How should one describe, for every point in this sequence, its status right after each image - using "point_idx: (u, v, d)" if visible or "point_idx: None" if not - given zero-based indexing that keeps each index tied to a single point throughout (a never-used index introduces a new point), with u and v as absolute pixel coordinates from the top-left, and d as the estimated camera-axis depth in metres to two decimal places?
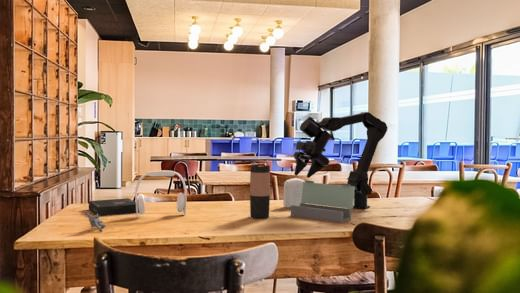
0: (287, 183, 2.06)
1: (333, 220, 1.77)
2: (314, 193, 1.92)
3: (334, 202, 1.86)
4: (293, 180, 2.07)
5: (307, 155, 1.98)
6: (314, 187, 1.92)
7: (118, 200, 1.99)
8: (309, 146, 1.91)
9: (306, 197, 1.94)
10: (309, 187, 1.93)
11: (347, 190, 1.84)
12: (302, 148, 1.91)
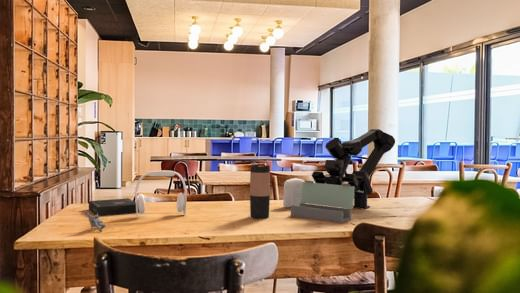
0: (287, 183, 2.06)
1: (333, 220, 1.77)
2: (314, 193, 1.92)
3: (334, 202, 1.86)
4: (293, 180, 2.07)
5: None
6: (314, 187, 1.92)
7: (118, 200, 1.99)
8: (341, 165, 1.89)
9: (306, 197, 1.93)
10: (309, 187, 1.93)
11: (347, 190, 1.84)
12: (334, 166, 1.89)
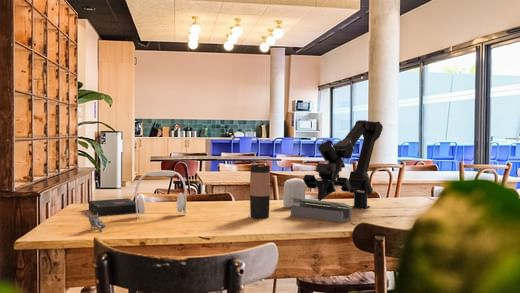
0: (287, 183, 2.06)
1: (333, 220, 1.77)
2: (308, 202, 1.88)
3: None
4: (293, 180, 2.07)
5: None
6: (304, 201, 1.86)
7: (118, 200, 1.99)
8: (333, 169, 1.83)
9: (303, 202, 1.91)
10: None
11: (338, 205, 1.78)
12: (326, 170, 1.83)
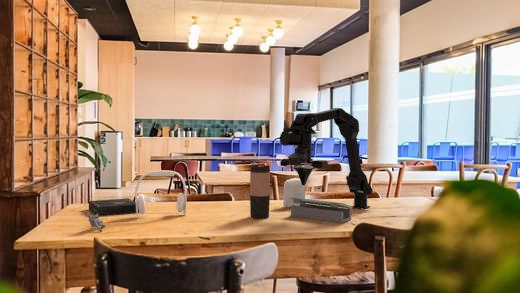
0: (287, 183, 2.06)
1: (333, 220, 1.77)
2: (308, 202, 1.88)
3: None
4: (293, 180, 2.07)
5: None
6: (304, 201, 1.86)
7: (118, 200, 1.99)
8: (305, 158, 1.80)
9: (303, 202, 1.91)
10: None
11: (338, 205, 1.78)
12: (299, 163, 1.80)
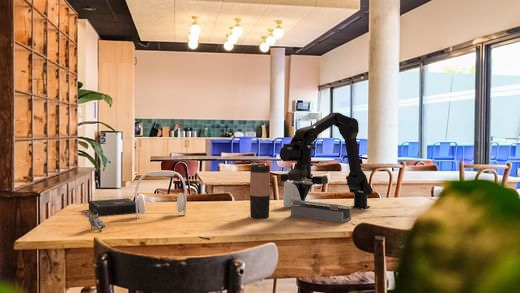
0: (287, 183, 2.06)
1: (333, 220, 1.77)
2: (308, 203, 1.88)
3: None
4: None
5: None
6: None
7: (118, 200, 1.99)
8: (305, 174, 1.80)
9: None
10: None
11: None
12: (299, 179, 1.80)
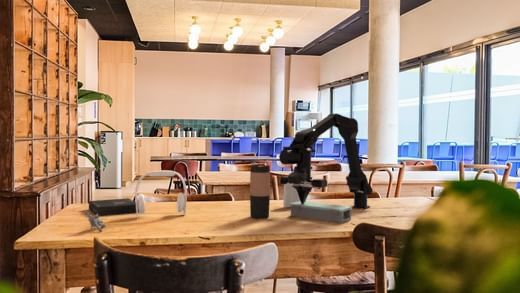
0: (287, 183, 2.06)
1: (333, 220, 1.77)
2: None
3: None
4: None
5: None
6: None
7: (118, 200, 1.99)
8: (305, 177, 1.80)
9: None
10: None
11: None
12: (299, 182, 1.80)
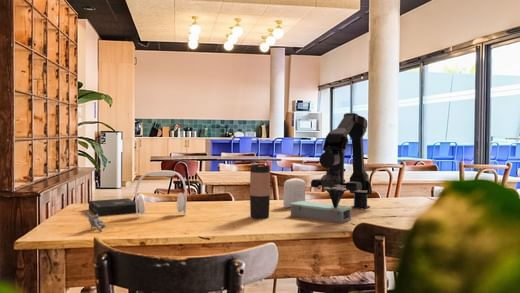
0: (287, 183, 2.06)
1: (333, 220, 1.77)
2: None
3: None
4: (293, 180, 2.07)
5: None
6: None
7: (118, 200, 1.99)
8: (339, 180, 1.72)
9: None
10: None
11: None
12: (332, 185, 1.72)
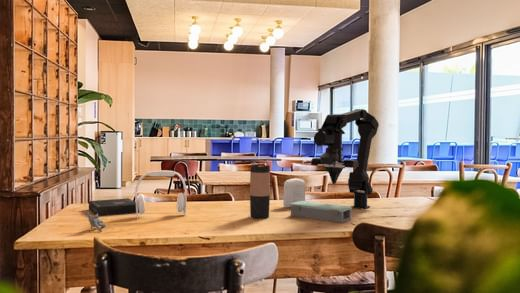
0: (287, 183, 2.06)
1: (333, 220, 1.77)
2: None
3: None
4: (293, 180, 2.07)
5: None
6: None
7: (118, 200, 1.99)
8: (337, 158, 1.86)
9: None
10: None
11: None
12: (331, 163, 1.86)
